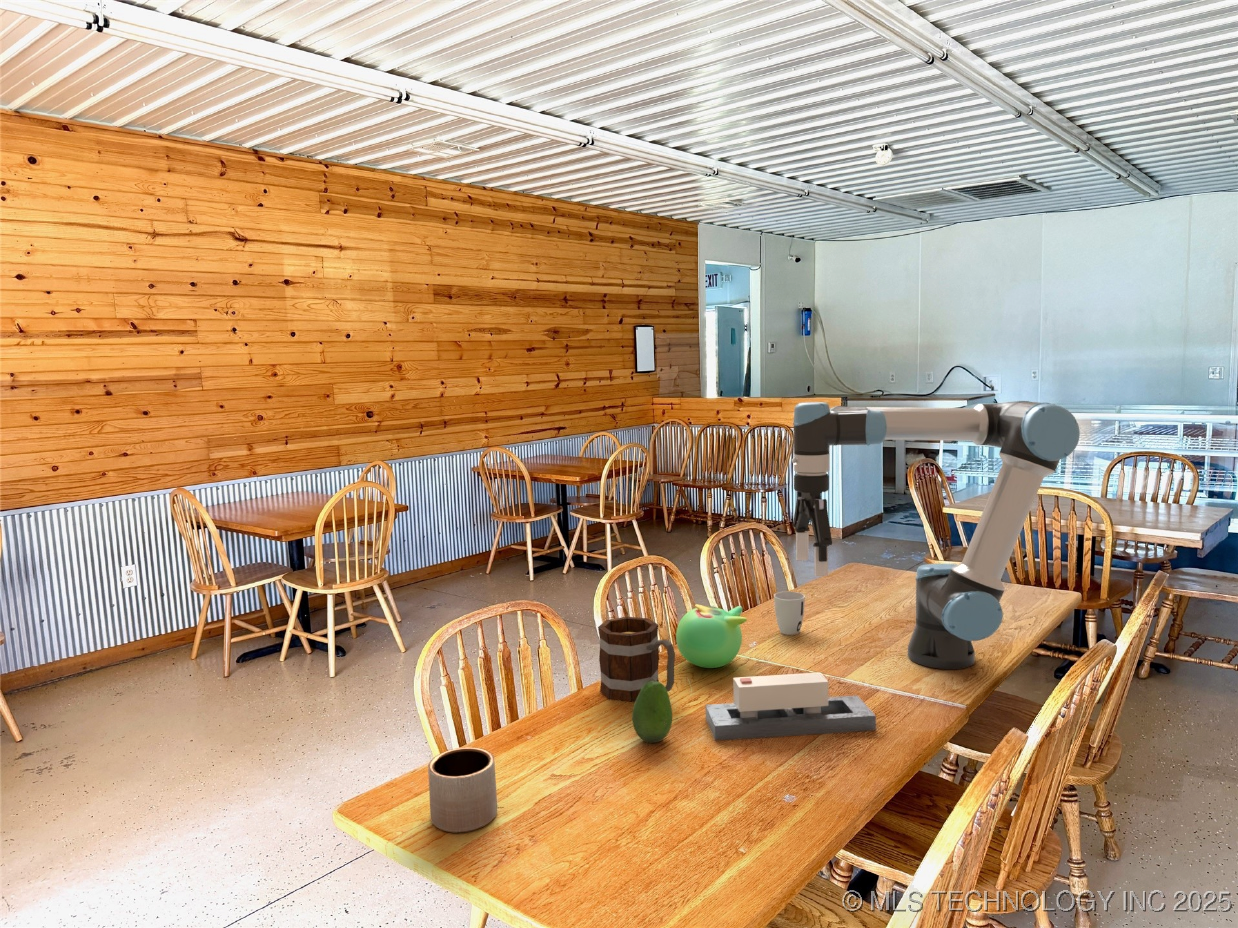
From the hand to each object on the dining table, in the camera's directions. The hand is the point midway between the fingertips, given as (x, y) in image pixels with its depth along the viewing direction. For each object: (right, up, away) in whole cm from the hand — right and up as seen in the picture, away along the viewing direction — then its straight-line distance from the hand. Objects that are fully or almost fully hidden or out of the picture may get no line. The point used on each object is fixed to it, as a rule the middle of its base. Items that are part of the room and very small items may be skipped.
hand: (811, 567), depth 185 cm
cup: (+3, -22, +38) cm, 44 cm away
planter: (-68, -35, -48) cm, 90 cm away
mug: (-38, -28, 0) cm, 47 cm away
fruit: (-36, -31, -22) cm, 53 cm away
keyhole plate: (-9, -29, -17) cm, 35 cm away
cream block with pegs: (-10, -29, -17) cm, 36 cm away
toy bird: (-20, -26, +17) cm, 37 cm away
